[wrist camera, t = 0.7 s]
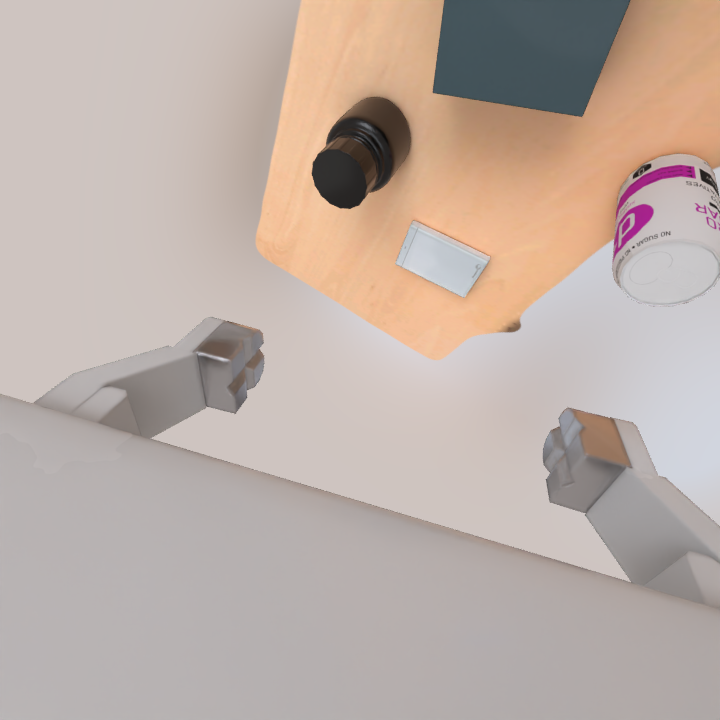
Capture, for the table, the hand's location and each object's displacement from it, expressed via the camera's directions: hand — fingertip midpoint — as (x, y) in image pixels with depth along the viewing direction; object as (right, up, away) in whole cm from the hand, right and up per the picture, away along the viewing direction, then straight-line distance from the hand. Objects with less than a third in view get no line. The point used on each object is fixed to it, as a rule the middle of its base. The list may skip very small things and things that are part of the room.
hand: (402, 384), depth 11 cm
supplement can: (+32, +19, +32) cm, 49 cm away
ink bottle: (+1, +30, +40) cm, 50 cm away
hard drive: (+11, +17, +50) cm, 54 cm away
